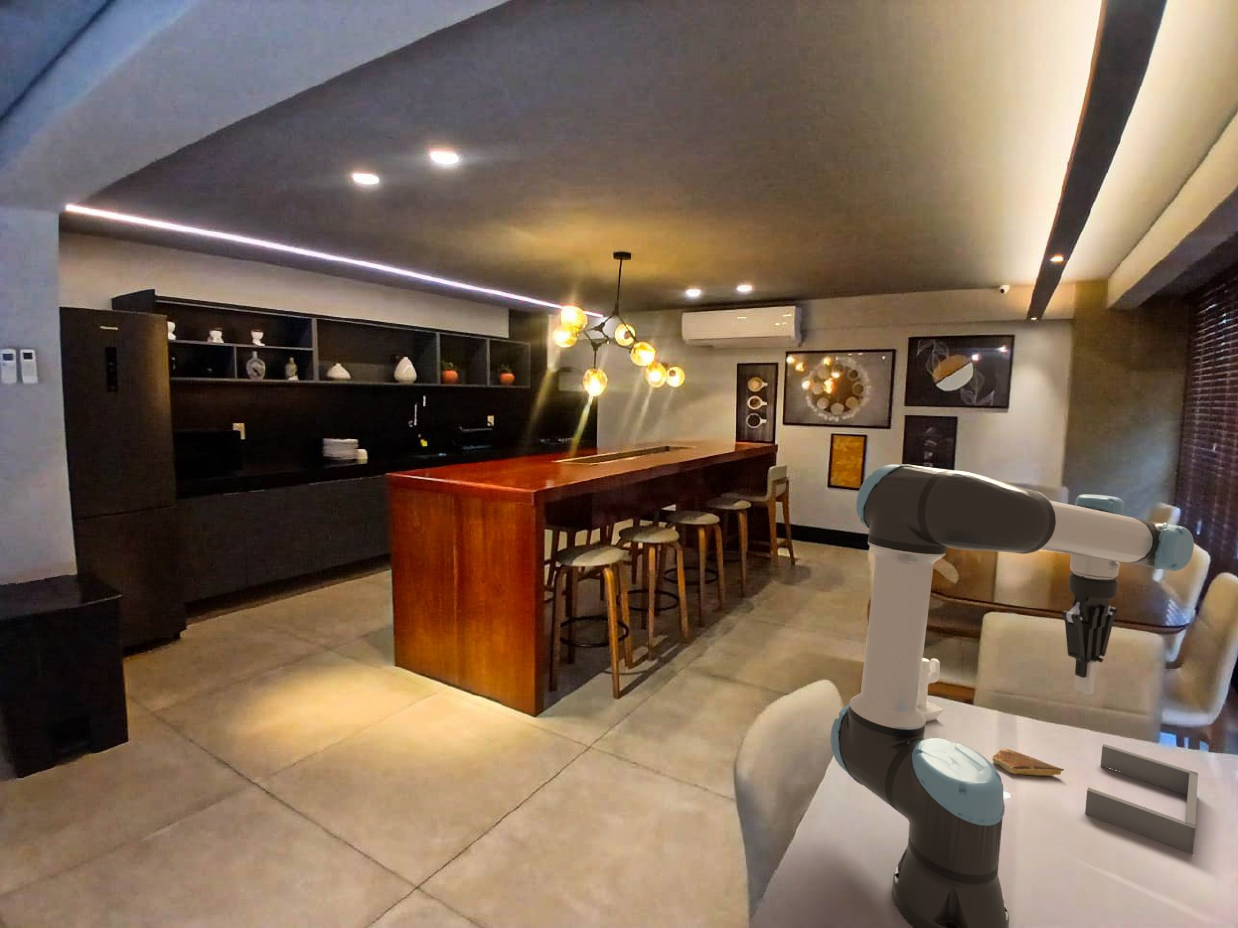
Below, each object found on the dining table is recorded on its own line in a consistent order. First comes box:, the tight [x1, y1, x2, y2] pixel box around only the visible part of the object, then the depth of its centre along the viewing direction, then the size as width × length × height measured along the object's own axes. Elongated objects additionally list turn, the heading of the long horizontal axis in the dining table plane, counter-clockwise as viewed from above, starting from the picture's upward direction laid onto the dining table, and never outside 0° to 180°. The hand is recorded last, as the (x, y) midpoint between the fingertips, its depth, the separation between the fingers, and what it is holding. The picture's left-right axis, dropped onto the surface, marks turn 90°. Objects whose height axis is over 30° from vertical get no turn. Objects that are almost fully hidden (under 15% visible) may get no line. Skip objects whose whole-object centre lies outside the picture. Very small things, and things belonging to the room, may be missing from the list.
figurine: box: [917, 657, 945, 722], centre depth 146 cm, size 7×9×15 cm
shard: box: [992, 748, 1065, 777], centre depth 125 cm, size 11×8×2 cm
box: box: [1084, 743, 1199, 854], centre depth 116 cm, size 14×22×4 cm, turn 136°
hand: (1083, 691), depth 122 cm, fingers closed
